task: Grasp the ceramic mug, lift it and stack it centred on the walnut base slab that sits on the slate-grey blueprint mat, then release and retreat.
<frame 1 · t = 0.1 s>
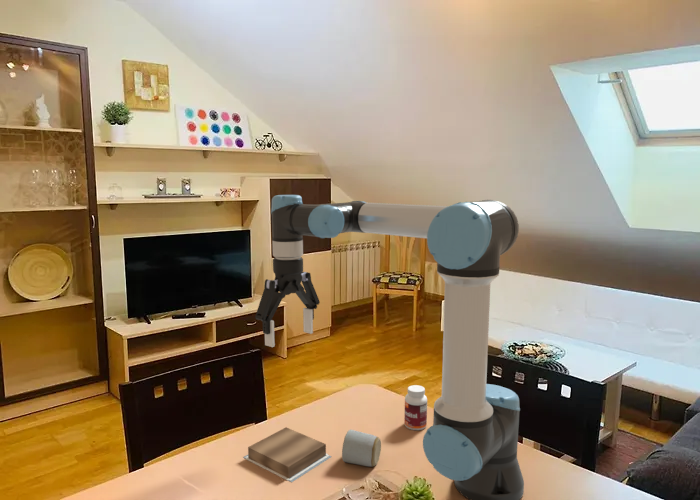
hand: (289, 339, 137), 28 cm above the table, fingers open, 13 cm apart
pill bottle: (415, 426, 149), on the table
ceramic mug: (362, 460, 132), on the table
walnut slab: (287, 456, 133), resting on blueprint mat
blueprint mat: (287, 458, 133), on the table
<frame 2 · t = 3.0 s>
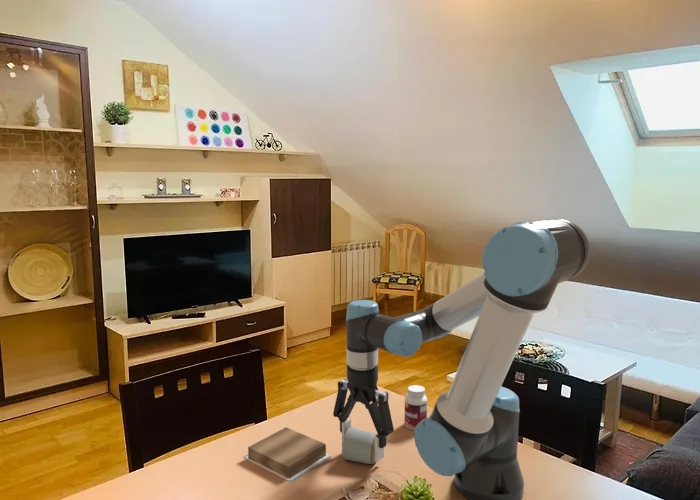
hand: (362, 451, 131), 2 cm above the table, fingers closed on ceramic mug, 9 cm apart
ceramic mug: (362, 458, 133), on the table, touching gripper
everything else where it was.
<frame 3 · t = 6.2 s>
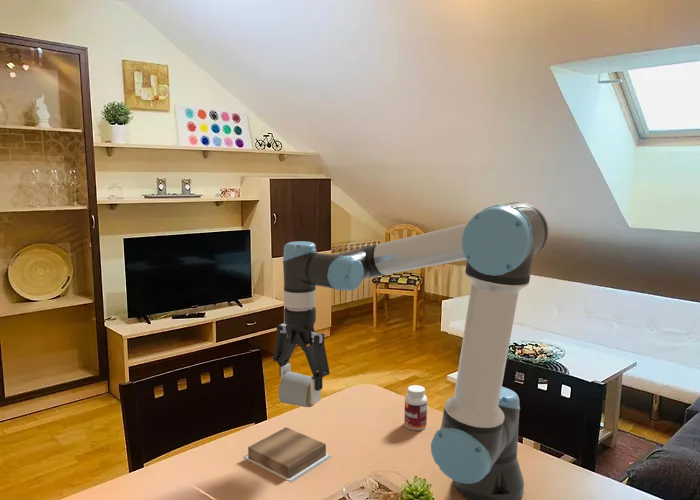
hand: (300, 395, 130), 16 cm above the table, fingers closed on ceramic mug, 9 cm apart
ceramic mug: (301, 402, 132), point 14 cm above the table, touching gripper
everything else where it was.
when the fingers open (6 cm above the table, at t = 9.1 s): ceramic mug stays where it is, resting on walnut slab.
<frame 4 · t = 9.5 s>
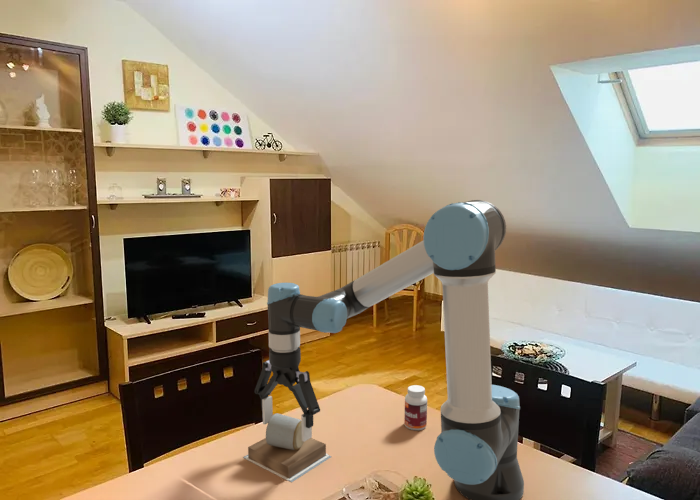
hand: (286, 430, 132), 7 cm above the table, fingers open, 13 cm apart
ceramic mug: (288, 444, 133), point 3 cm above the table, touching walnut slab
walnut slab: (287, 456, 133), resting on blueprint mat, touching ceramic mug
everything else where it was.
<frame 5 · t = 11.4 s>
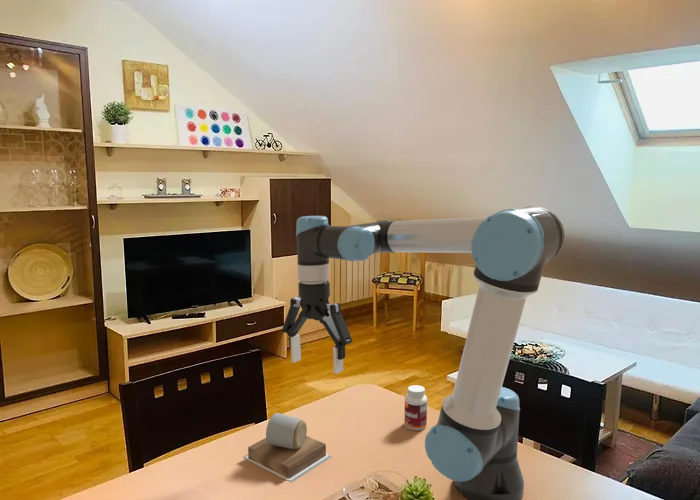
hand: (316, 366, 131), 23 cm above the table, fingers open, 13 cm apart
nothing on the table moved.
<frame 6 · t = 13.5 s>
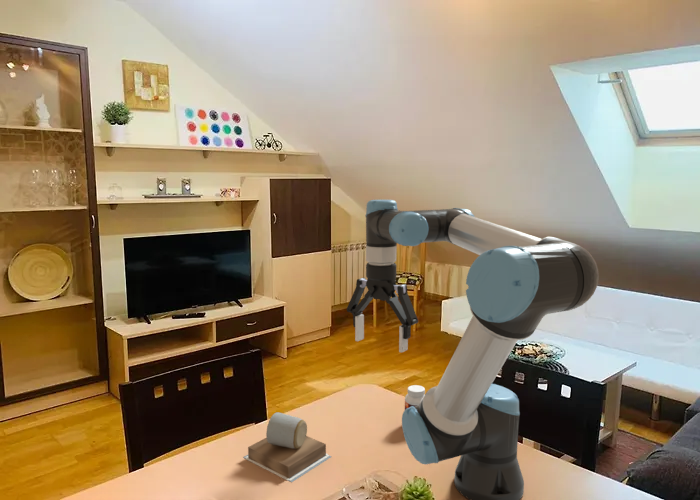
hand: (380, 345, 135), 27 cm above the table, fingers open, 13 cm apart
nothing on the table moved.
at the end: ceramic mug inside the target area on the walnut slab (1.7 cm from its centre), point 2.8 cm above the walnut slab's base; ceramic mug tilted 1°; the gripper is holding nothing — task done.
